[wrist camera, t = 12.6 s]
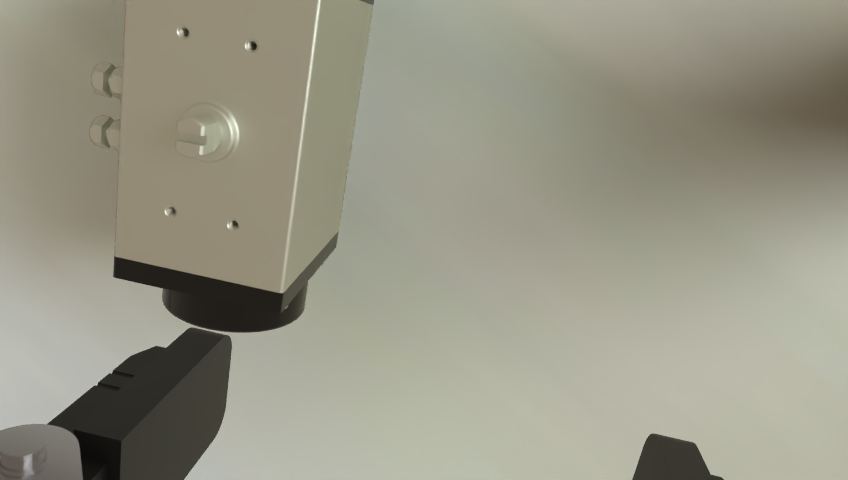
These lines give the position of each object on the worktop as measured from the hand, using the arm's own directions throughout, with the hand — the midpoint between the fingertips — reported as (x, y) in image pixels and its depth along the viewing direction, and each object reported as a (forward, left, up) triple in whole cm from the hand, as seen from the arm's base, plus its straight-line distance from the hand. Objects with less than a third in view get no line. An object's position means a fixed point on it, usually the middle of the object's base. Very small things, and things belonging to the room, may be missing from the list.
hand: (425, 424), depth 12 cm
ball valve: (+11, -2, -29) cm, 31 cm away
